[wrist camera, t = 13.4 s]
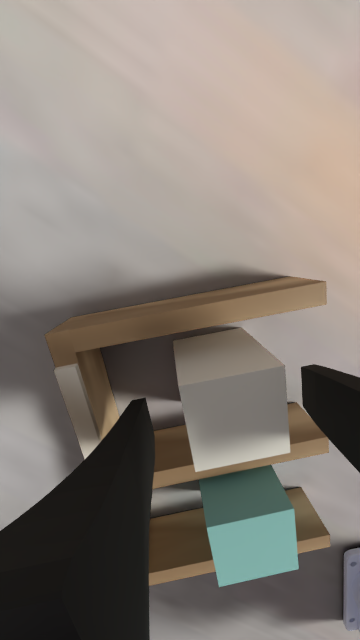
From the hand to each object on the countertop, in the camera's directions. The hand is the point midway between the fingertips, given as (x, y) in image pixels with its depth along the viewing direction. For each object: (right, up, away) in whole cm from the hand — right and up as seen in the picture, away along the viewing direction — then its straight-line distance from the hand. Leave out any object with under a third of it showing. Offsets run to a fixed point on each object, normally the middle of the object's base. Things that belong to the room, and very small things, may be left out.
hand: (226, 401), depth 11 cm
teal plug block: (+1, -6, +5) cm, 8 cm away
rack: (-1, -3, +4) cm, 5 cm away
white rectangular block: (0, +1, +3) cm, 4 cm away
